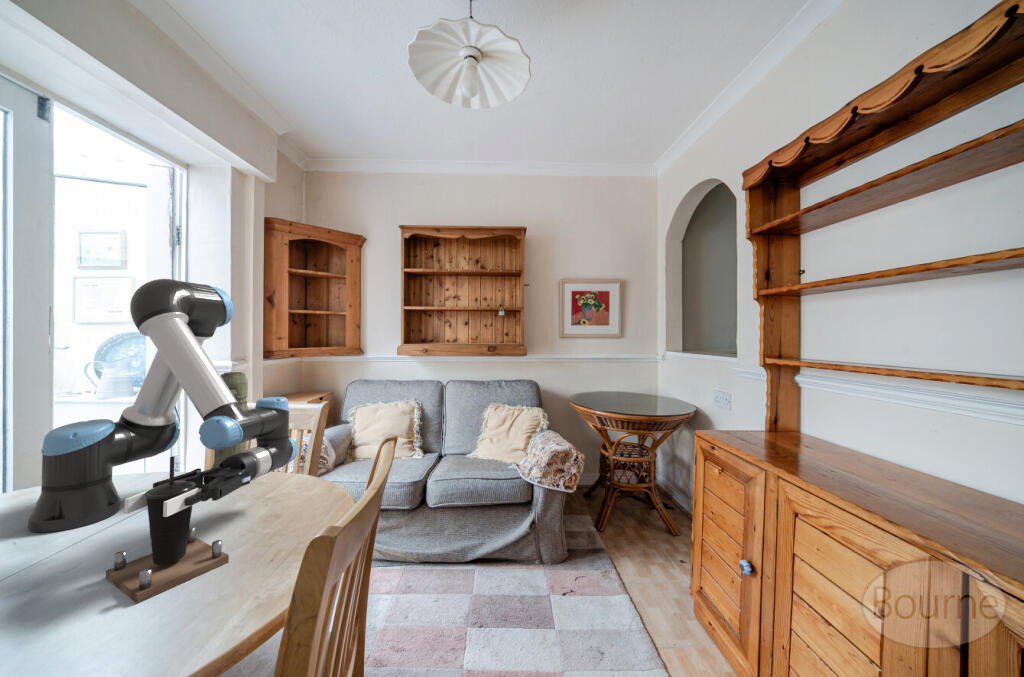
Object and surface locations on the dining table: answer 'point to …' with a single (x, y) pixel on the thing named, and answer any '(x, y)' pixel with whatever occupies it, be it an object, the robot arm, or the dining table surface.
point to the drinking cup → (168, 520)
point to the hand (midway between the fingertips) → (145, 507)
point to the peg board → (164, 569)
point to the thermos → (239, 390)
